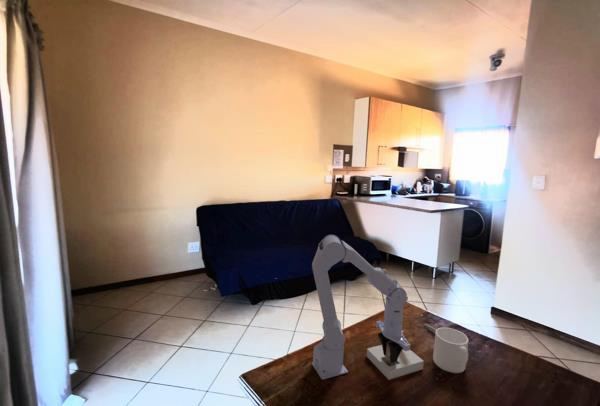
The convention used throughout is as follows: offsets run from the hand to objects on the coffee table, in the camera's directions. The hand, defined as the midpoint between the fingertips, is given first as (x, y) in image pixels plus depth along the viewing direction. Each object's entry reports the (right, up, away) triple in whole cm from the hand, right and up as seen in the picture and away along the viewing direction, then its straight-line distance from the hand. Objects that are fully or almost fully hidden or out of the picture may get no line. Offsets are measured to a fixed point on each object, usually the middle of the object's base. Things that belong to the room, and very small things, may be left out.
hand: (390, 358), depth 98 cm
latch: (+6, +2, +5) cm, 9 cm away
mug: (+22, -4, +3) cm, 22 cm away
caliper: (+25, -3, +18) cm, 31 cm away
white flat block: (+2, -4, +4) cm, 6 cm away
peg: (0, -2, 0) cm, 2 cm away
